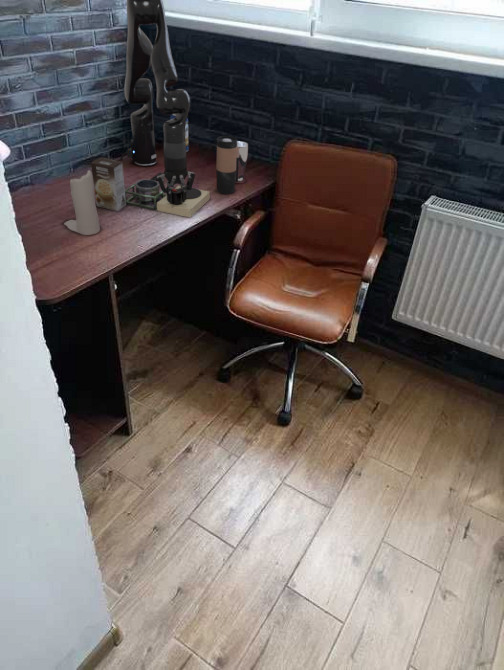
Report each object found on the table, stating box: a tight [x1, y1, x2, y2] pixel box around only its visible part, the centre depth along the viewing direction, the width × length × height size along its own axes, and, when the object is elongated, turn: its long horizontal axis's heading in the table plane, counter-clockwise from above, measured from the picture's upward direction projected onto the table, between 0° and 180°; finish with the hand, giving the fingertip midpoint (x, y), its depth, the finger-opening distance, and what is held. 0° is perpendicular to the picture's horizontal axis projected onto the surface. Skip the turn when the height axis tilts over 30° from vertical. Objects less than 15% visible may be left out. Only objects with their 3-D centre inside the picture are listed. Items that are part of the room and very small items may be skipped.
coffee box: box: [90, 156, 127, 212], centre depth 175 cm, size 9×6×16 cm
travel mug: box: [215, 135, 238, 195], centre depth 191 cm, size 8×8×20 cm
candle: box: [63, 169, 101, 236], centre depth 160 cm, size 7×14×20 cm, turn 60°
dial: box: [172, 188, 183, 205], centre depth 177 cm, size 4×4×5 cm
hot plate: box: [156, 185, 211, 218], centre depth 183 cm, size 19×13×3 cm
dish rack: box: [125, 183, 167, 211], centre depth 184 cm, size 13×13×5 cm
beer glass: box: [235, 140, 249, 184], centre depth 202 cm, size 7×7×15 cm
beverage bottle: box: [169, 114, 190, 153], centre depth 225 cm, size 8×8×20 cm
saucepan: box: [134, 172, 164, 206], centre depth 187 cm, size 8×16×7 cm, turn 161°
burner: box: [179, 187, 201, 199], centre depth 185 cm, size 10×10×1 cm
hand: (176, 201), depth 178 cm, fingers closed on dial, 4 cm apart
